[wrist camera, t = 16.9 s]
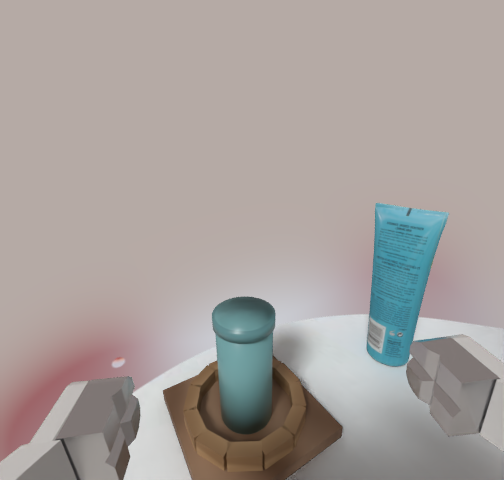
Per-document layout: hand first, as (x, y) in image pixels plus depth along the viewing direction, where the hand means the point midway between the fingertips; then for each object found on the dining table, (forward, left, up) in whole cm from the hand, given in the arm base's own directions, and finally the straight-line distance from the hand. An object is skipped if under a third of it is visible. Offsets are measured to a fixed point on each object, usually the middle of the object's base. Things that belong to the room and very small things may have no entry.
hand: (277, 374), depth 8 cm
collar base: (-6, -13, -19) cm, 24 cm away
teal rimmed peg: (-6, -13, -18) cm, 23 cm away
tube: (-26, -11, -19) cm, 34 cm away
